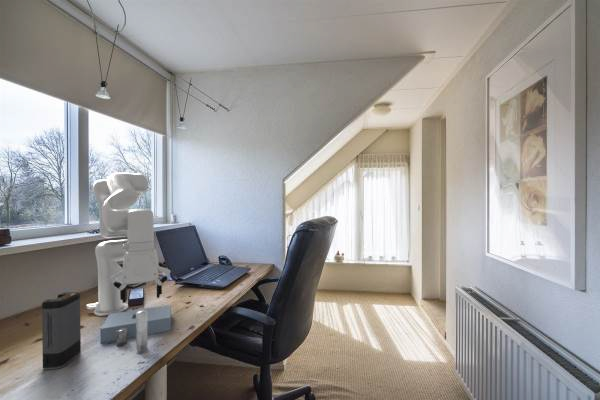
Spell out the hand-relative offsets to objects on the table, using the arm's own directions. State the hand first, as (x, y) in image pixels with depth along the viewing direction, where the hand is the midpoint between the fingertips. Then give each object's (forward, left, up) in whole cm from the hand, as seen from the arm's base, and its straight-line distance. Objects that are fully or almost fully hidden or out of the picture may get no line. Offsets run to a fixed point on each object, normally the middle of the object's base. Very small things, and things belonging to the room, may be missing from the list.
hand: (141, 299), depth 90 cm
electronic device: (-22, +4, -17) cm, 29 cm away
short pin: (-7, +8, -17) cm, 20 cm away
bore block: (-3, +19, -17) cm, 26 cm away
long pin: (0, 0, -17) cm, 17 cm away
